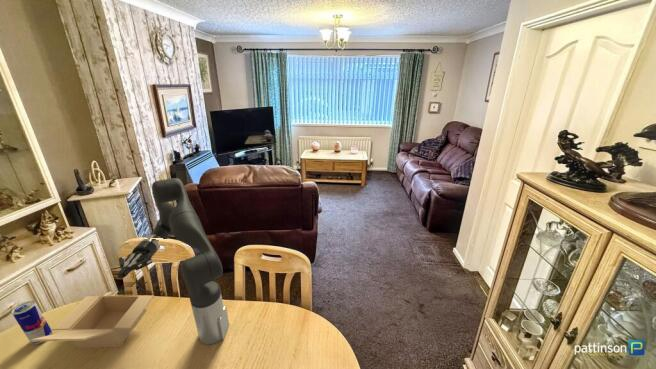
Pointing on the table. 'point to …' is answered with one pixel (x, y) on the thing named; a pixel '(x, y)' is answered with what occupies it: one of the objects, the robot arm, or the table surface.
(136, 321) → the carton
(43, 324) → the beverage can
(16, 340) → the table surface
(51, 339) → the lid flap
